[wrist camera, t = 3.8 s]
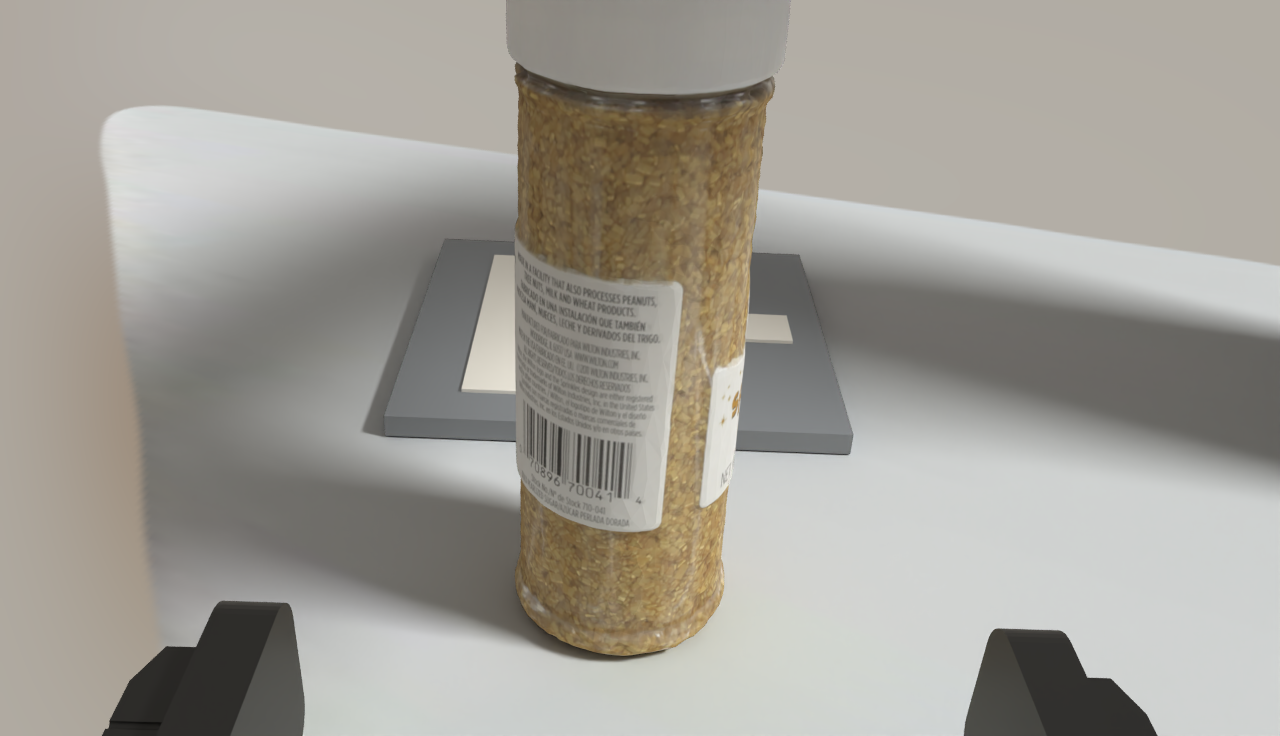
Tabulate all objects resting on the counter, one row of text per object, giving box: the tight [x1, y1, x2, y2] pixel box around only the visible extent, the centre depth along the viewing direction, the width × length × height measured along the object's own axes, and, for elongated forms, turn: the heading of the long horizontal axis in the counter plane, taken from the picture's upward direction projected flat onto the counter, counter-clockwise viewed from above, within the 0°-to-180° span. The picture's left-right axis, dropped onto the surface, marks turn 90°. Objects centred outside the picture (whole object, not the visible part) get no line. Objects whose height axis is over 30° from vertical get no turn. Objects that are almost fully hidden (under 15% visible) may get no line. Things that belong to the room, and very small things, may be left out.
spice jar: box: [506, 0, 791, 656], centre depth 21 cm, size 5×5×14 cm
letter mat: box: [384, 239, 853, 454], centre depth 34 cm, size 12×11×1 cm
